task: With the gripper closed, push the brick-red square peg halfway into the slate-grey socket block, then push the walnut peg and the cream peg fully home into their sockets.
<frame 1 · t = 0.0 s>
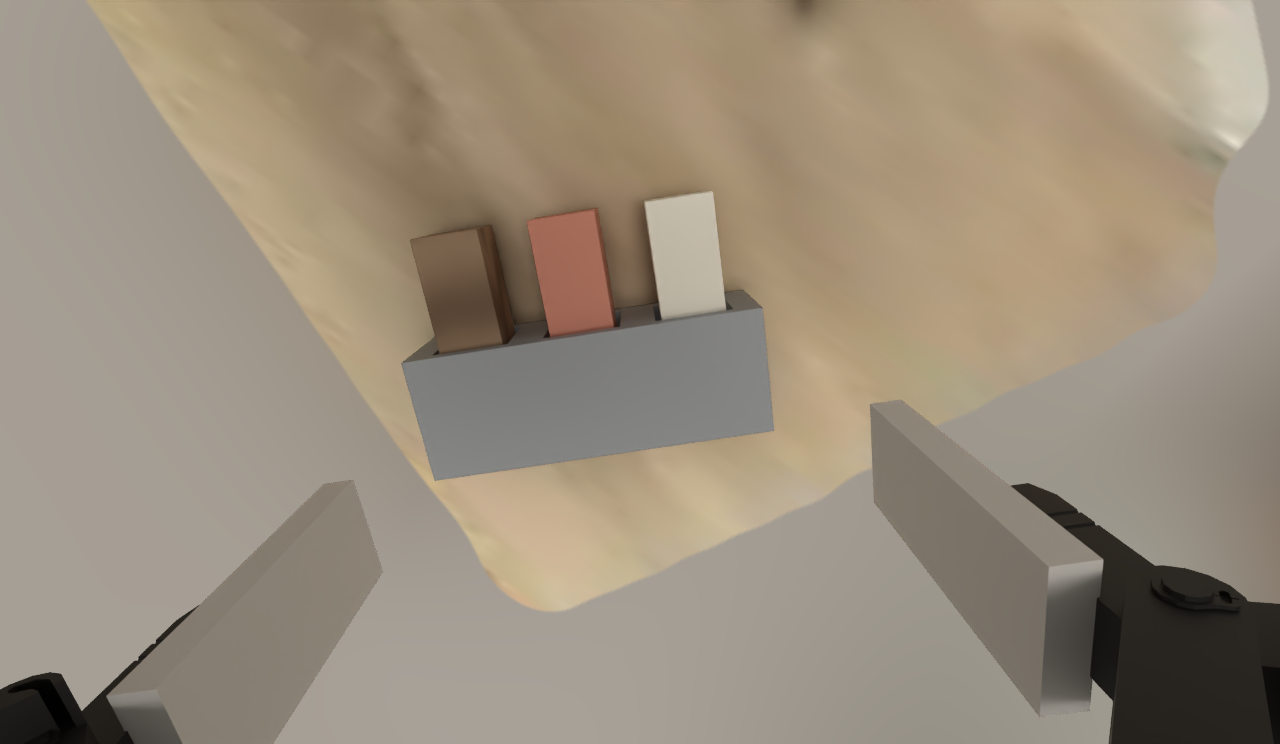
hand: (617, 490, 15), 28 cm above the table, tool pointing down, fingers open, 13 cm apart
brick peg: (577, 286, 38), point 3 cm above the table, slide at 0.0 cm
cream peg: (685, 269, 38), point 3 cm above the table, slide at 0.0 cm
socket block: (597, 367, 43), on the table
walnut peg: (469, 302, 39), point 3 cm above the table, slide at 0.0 cm
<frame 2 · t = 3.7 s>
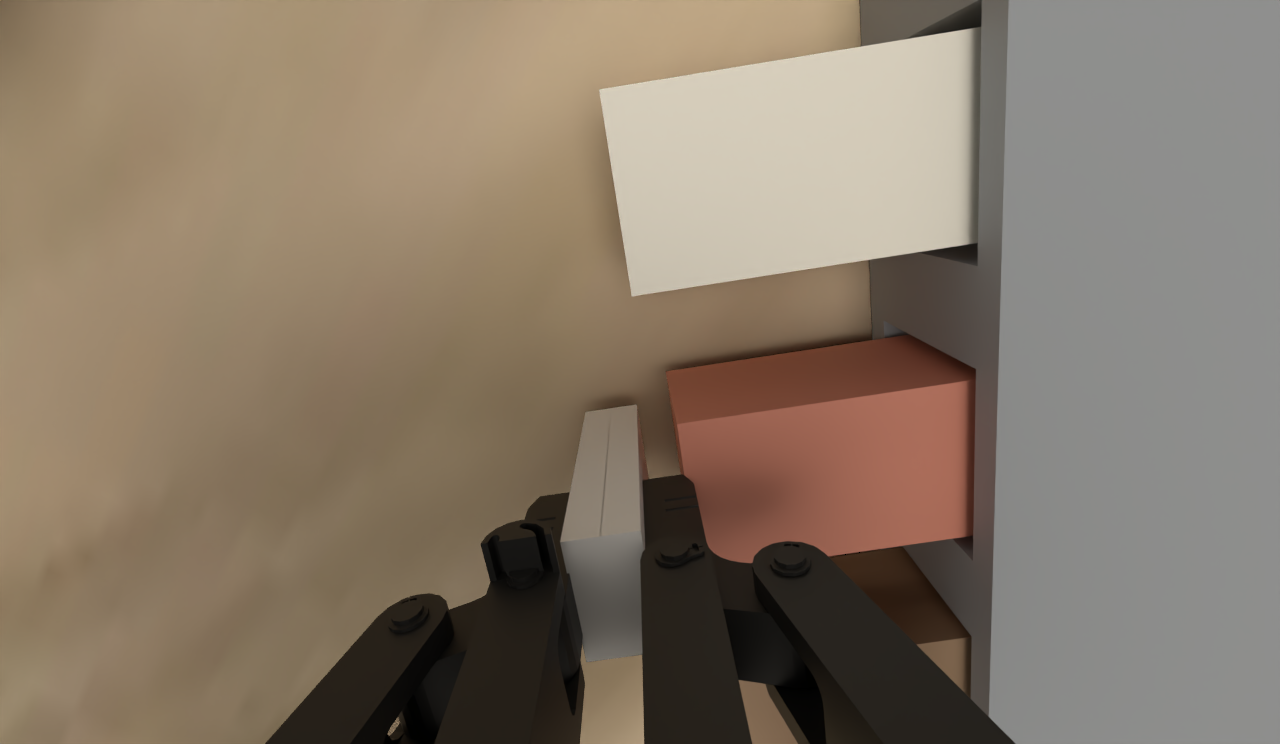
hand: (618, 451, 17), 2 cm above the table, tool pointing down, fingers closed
brick peg: (850, 439, 16), point 3 cm above the table, slide at 0.6 cm, touching gripper
cream peg: (811, 165, 14), point 3 cm above the table, slide at 0.0 cm
socket block: (1001, 369, 19), on the table
walnut peg: (842, 655, 18), point 3 cm above the table, slide at 0.0 cm
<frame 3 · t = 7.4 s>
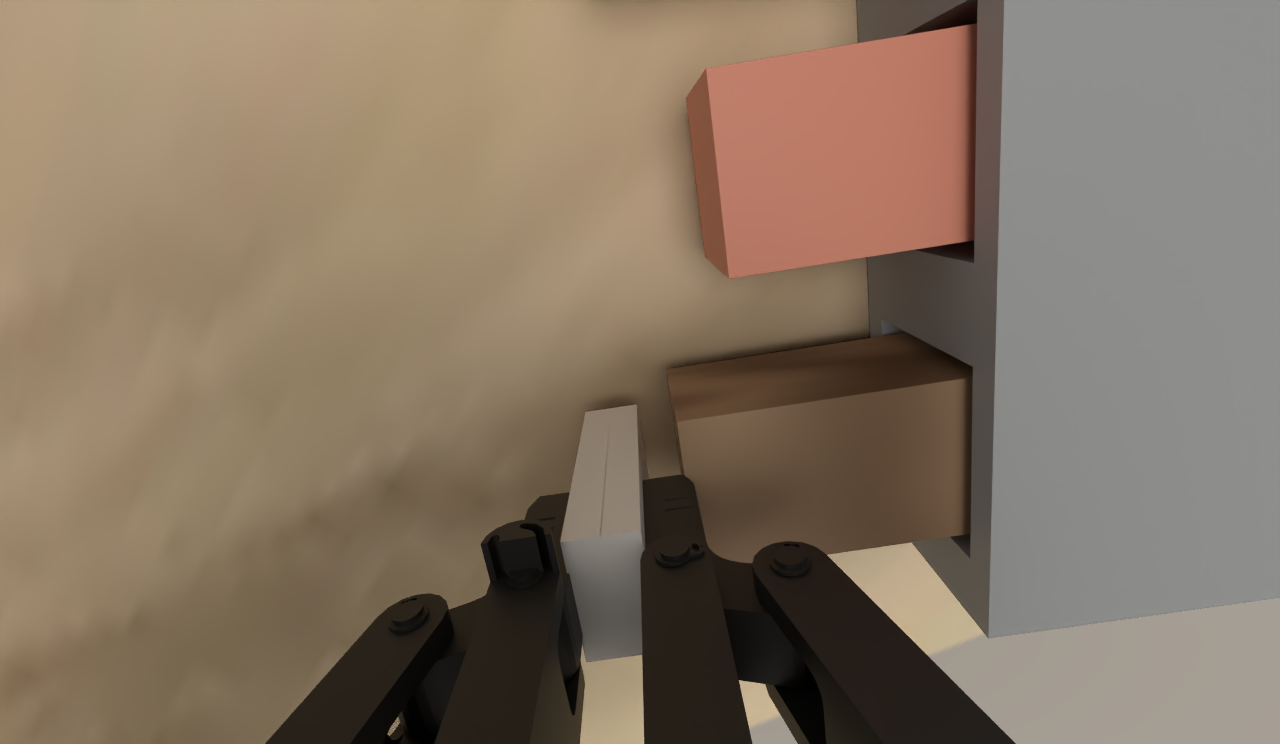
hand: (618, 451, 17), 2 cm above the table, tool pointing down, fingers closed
brick peg: (901, 148, 14), point 3 cm above the table, slide at 2.1 cm
socket block: (1006, 129, 17), on the table
walnut peg: (850, 437, 16), point 3 cm above the table, slide at 0.6 cm, touching gripper
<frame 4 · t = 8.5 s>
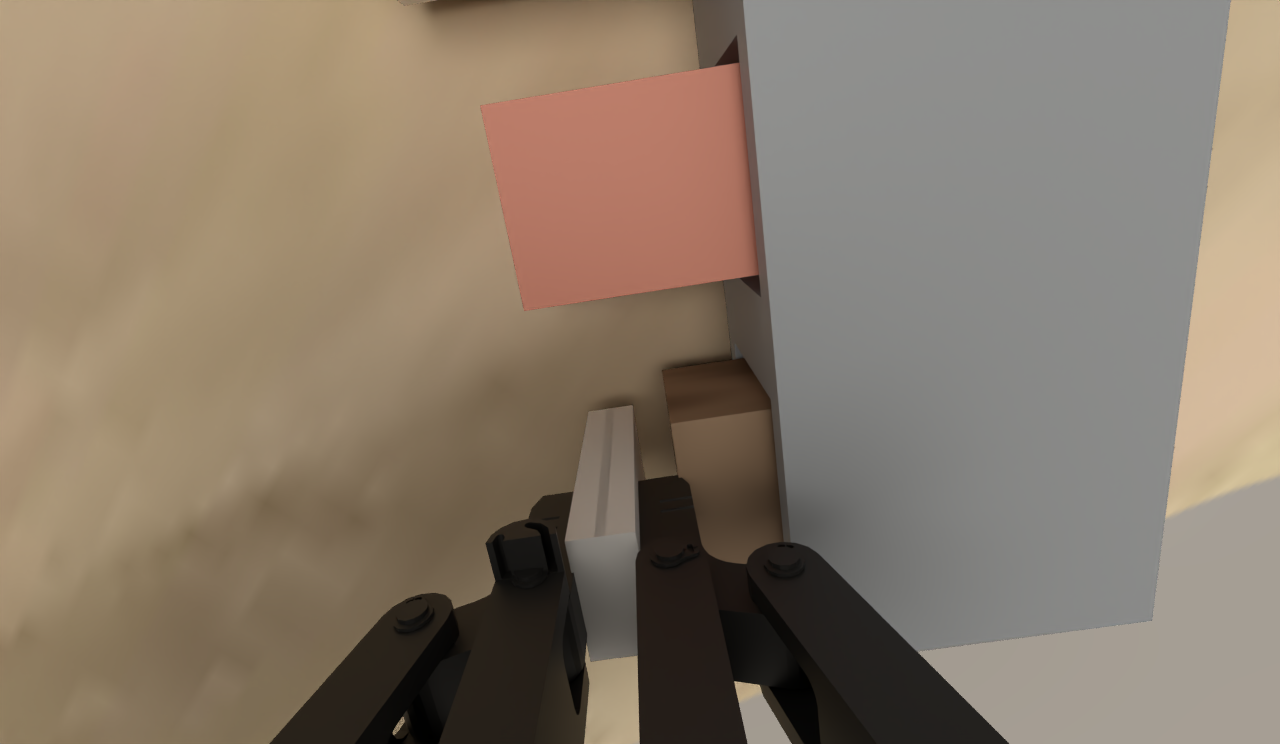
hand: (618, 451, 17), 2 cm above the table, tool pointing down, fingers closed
brick peg: (714, 178, 14), point 3 cm above the table, slide at 2.1 cm
socket block: (854, 154, 17), on the table
walnut peg: (846, 439, 16), point 3 cm above the table, slide at 4.8 cm, touching gripper
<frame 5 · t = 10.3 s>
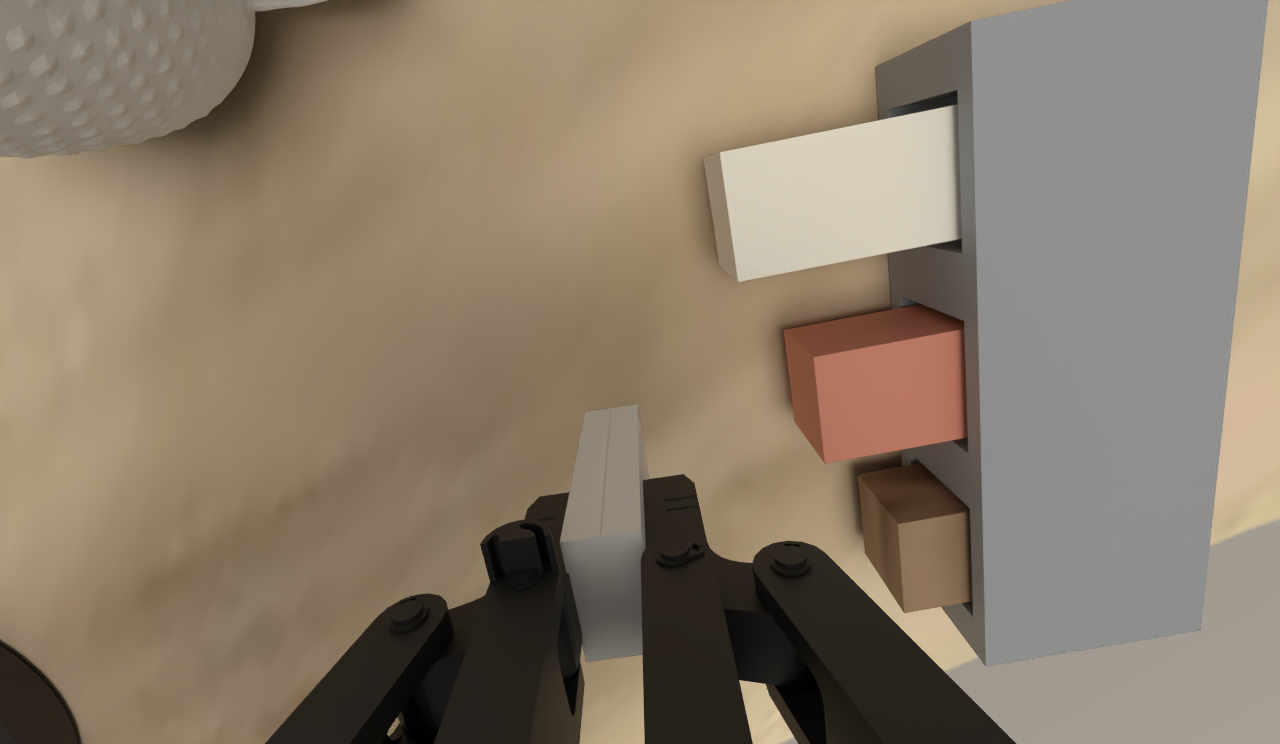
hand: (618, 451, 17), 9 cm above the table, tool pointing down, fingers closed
brick peg: (921, 370, 23), point 3 cm above the table, slide at 2.1 cm
cream peg: (849, 190, 21), point 3 cm above the table, slide at 0.0 cm
socket block: (987, 328, 26), on the table
mug: (194, 7, 22), on the table
walnut peg: (989, 520, 24), point 3 cm above the table, slide at 4.6 cm
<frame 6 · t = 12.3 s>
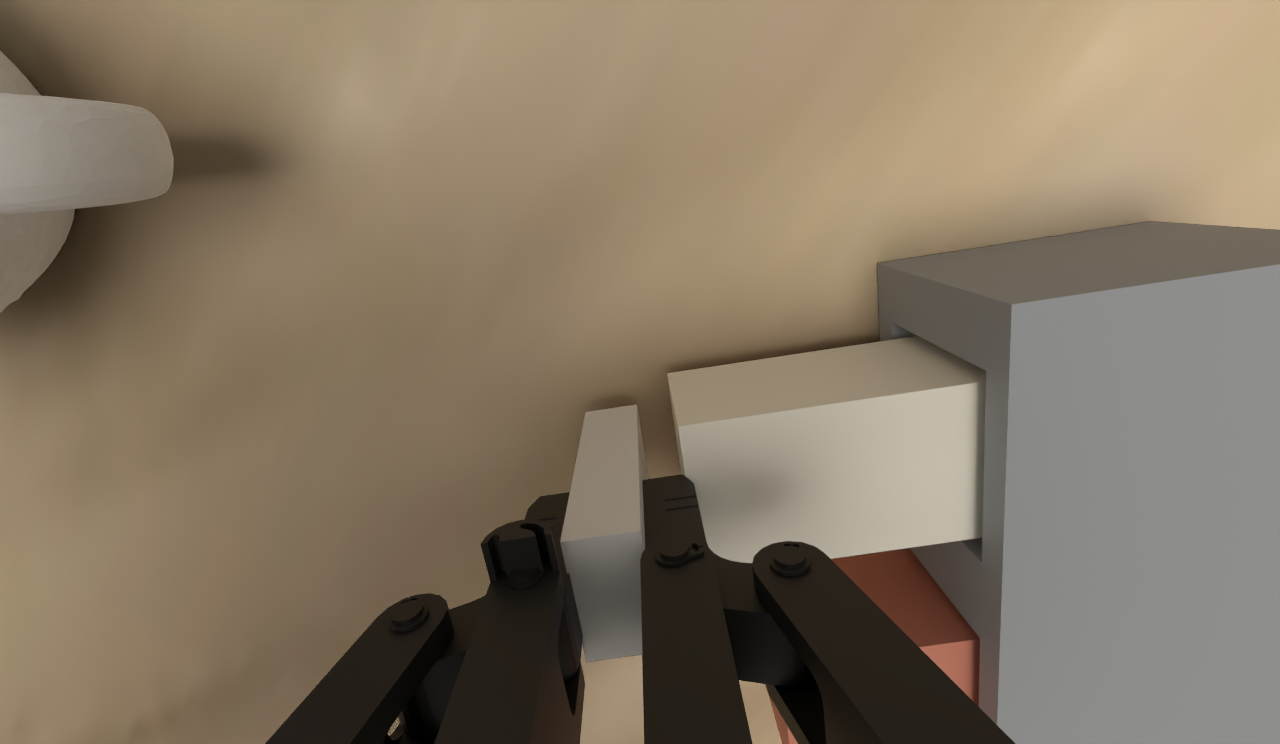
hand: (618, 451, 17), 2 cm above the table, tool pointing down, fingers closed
brick peg: (920, 647, 18), point 3 cm above the table, slide at 2.1 cm
cream peg: (851, 442, 16), point 3 cm above the table, slide at 0.4 cm, touching gripper
socket block: (1002, 560, 21), on the table
mug: (0, 160, 17), on the table
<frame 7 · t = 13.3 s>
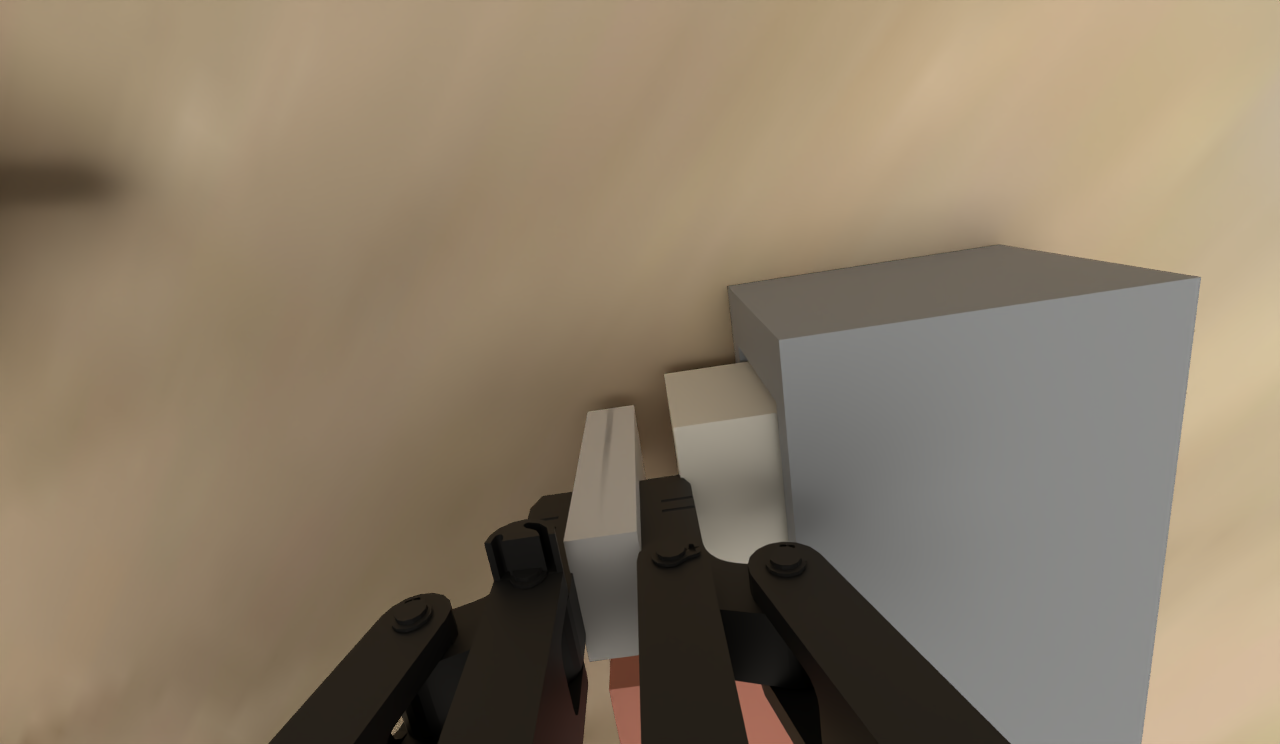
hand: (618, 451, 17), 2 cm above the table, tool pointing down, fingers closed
brick peg: (771, 669, 18), point 3 cm above the table, slide at 2.1 cm
cream peg: (848, 443, 16), point 3 cm above the table, slide at 4.7 cm, touching gripper
socket block: (875, 579, 21), on the table
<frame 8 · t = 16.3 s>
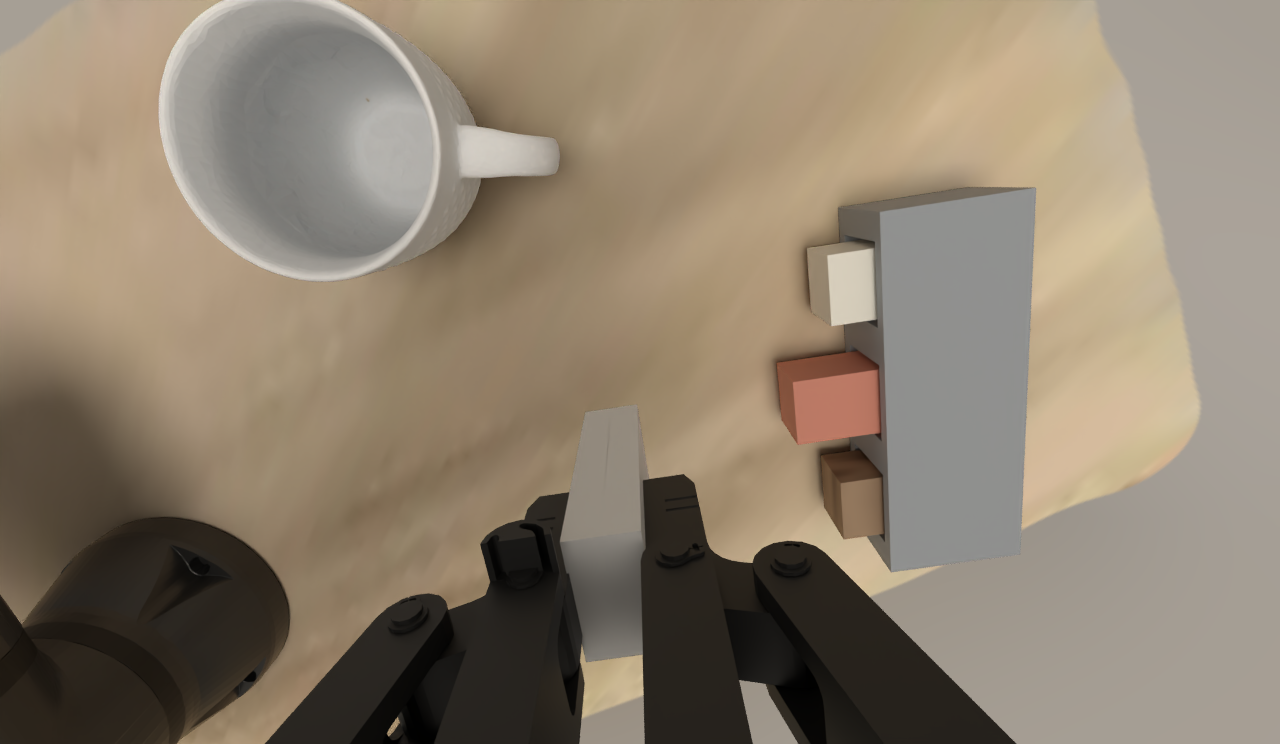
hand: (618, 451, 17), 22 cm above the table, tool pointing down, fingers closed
brick peg: (859, 391, 37), point 3 cm above the table, slide at 2.1 cm
cream peg: (895, 274, 35), point 3 cm above the table, slide at 4.6 cm
socket block: (906, 366, 40), on the table
mug: (433, 159, 36), on the table
walnut peg: (900, 486, 39), point 3 cm above the table, slide at 4.6 cm
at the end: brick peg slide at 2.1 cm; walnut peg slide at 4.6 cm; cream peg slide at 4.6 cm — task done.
